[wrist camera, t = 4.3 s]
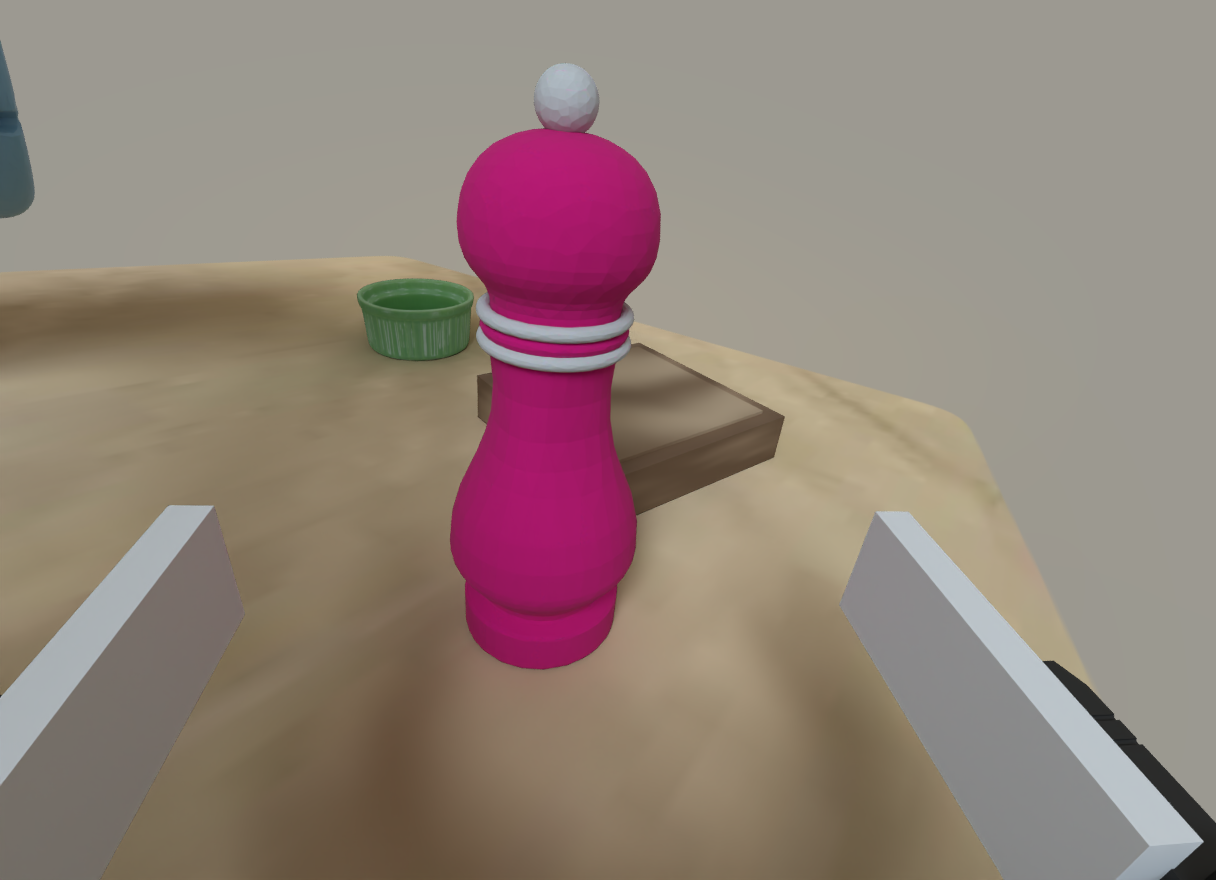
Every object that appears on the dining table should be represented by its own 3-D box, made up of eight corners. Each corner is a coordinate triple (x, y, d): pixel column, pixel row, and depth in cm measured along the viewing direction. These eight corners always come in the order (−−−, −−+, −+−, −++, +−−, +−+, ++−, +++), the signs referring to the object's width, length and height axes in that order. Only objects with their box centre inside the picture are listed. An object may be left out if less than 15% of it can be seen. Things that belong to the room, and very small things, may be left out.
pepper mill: (581, 540, 30) (622, 75, 20) (655, 647, 25) (763, 81, 15) (435, 578, 27) (399, 47, 17) (484, 709, 21) (473, 41, 12)
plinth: (478, 416, 40) (477, 372, 39) (635, 377, 48) (639, 340, 47) (606, 527, 31) (612, 476, 30) (773, 457, 39) (785, 413, 38)
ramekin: (487, 333, 54) (487, 285, 52) (453, 371, 46) (451, 316, 44) (391, 321, 55) (387, 273, 53) (342, 356, 47) (334, 301, 45)
